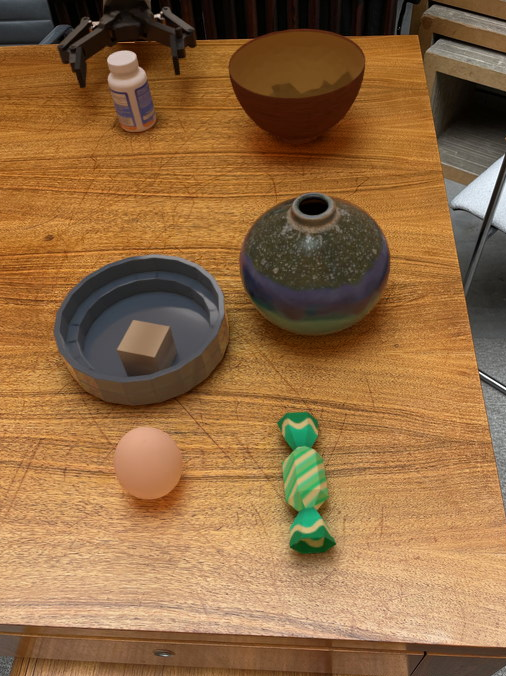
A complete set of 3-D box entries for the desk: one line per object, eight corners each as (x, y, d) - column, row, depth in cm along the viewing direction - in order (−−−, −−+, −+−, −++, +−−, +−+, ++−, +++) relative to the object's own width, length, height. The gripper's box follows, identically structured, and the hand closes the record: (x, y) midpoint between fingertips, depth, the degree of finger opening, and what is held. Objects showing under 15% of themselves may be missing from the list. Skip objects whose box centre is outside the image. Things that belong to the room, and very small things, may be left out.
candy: (270, 428, 59) (293, 405, 57) (301, 436, 61) (325, 414, 58) (281, 552, 52) (308, 533, 49) (316, 557, 54) (344, 539, 51)
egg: (163, 443, 60) (145, 397, 54) (201, 482, 57) (187, 439, 51) (113, 482, 58) (88, 439, 52) (150, 525, 55) (128, 484, 49)
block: (126, 374, 65) (116, 349, 61) (142, 345, 67) (133, 319, 64) (163, 382, 64) (154, 357, 61) (177, 351, 66) (170, 326, 63)
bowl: (380, 112, 92) (386, 41, 84) (329, 182, 83) (330, 110, 75) (273, 88, 97) (268, 20, 89) (213, 151, 88) (202, 81, 80)
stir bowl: (34, 367, 67) (18, 339, 63) (136, 265, 75) (127, 236, 72) (165, 435, 61) (155, 409, 57) (260, 316, 69) (256, 286, 66)
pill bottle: (153, 109, 95) (138, 44, 88) (160, 128, 92) (145, 62, 85) (117, 117, 95) (99, 52, 87) (123, 136, 92) (104, 70, 84)
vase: (379, 366, 64) (390, 269, 53) (231, 350, 66) (213, 254, 56) (391, 261, 73) (402, 160, 62) (260, 250, 75) (249, 151, 65)
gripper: (207, 20, 106) (219, 86, 93) (57, 40, 105) (48, 108, 92) (200, -29, 100) (212, 33, 87) (41, -9, 99) (29, 57, 86)
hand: (128, 72), depth 90 cm, fingers open, 13 cm apart
